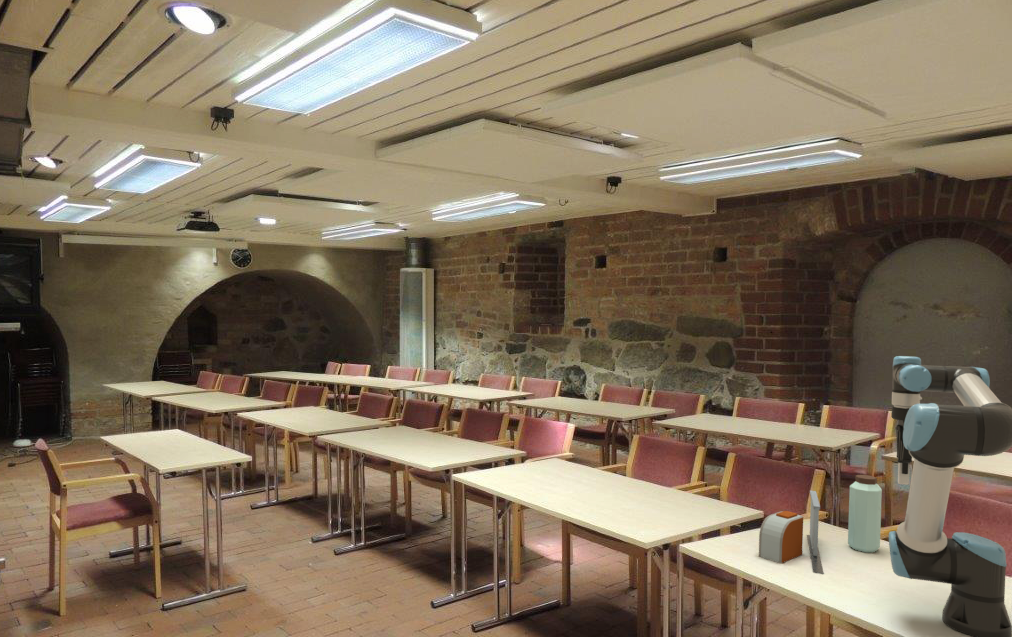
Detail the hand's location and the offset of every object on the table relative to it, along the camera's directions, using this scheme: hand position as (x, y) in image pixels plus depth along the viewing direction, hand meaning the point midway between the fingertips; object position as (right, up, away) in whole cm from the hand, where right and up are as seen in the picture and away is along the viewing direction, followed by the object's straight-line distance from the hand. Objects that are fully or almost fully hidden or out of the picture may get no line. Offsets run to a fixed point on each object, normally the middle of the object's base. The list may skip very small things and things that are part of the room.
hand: (903, 483), depth 214 cm
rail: (-17, -29, +23) cm, 41 cm away
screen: (-15, -29, +29) cm, 44 cm away
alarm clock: (-29, -29, +21) cm, 46 cm away
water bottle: (+3, -30, +29) cm, 42 cm away
